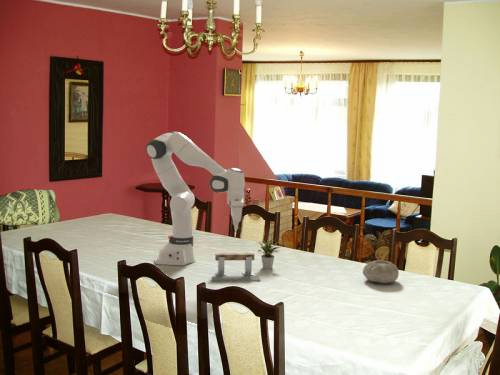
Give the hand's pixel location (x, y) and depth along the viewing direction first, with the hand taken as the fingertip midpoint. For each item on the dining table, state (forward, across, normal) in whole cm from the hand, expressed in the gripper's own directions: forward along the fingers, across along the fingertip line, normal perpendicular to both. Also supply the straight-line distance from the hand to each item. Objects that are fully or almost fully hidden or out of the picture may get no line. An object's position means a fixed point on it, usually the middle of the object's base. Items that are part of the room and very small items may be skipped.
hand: (235, 226), depth 306 cm
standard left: (+25, 0, -7) cm, 26 cm away
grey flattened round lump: (+26, +14, +73) cm, 78 cm away
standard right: (+25, 0, +7) cm, 26 cm away
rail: (+17, 0, 0) cm, 17 cm away
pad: (+25, +8, 0) cm, 26 cm away
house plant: (+26, -12, +18) cm, 33 cm away
